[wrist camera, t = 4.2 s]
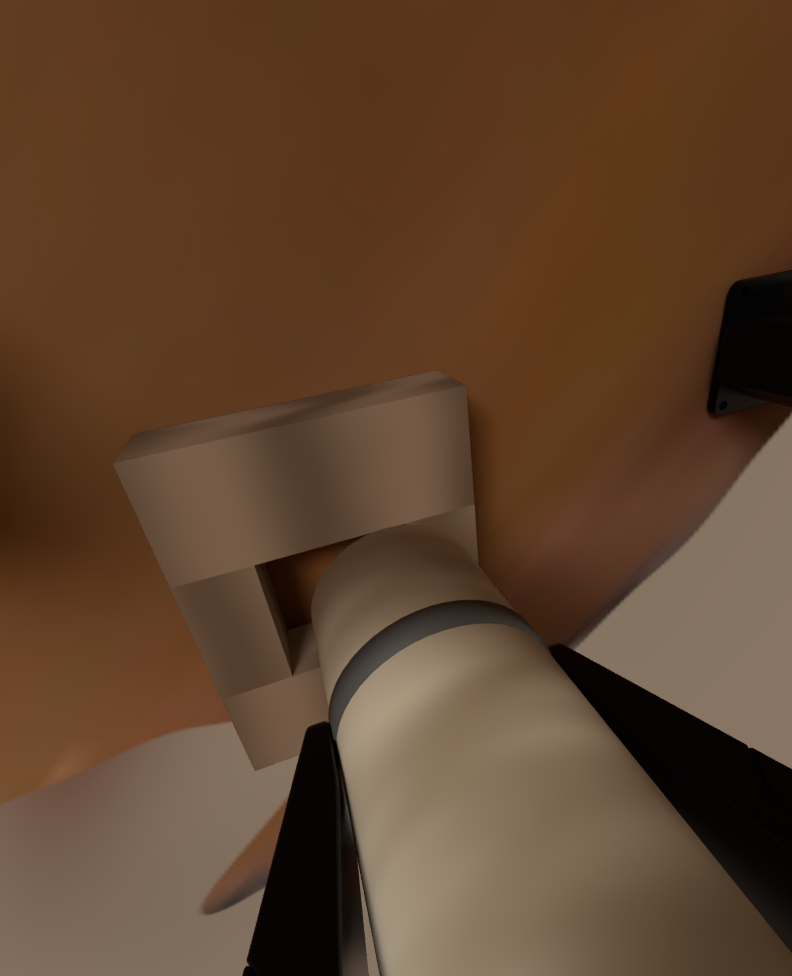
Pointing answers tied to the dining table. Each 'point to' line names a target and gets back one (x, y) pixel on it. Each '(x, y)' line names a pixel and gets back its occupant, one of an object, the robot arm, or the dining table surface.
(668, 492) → the dining table surface
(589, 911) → the birch peg
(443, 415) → the walnut board
